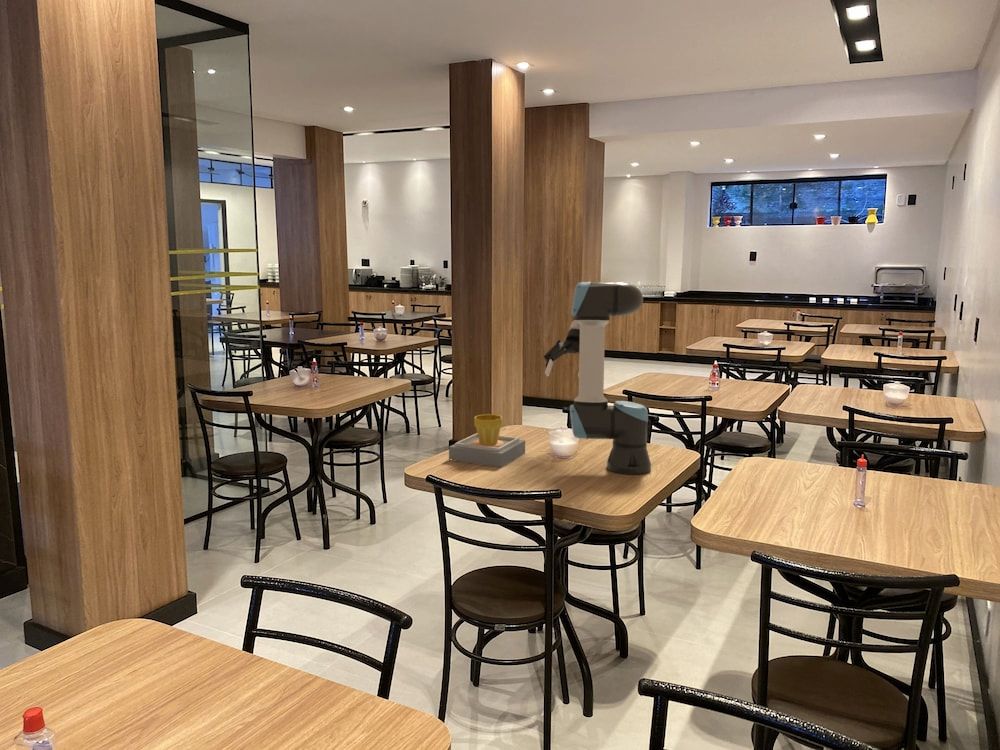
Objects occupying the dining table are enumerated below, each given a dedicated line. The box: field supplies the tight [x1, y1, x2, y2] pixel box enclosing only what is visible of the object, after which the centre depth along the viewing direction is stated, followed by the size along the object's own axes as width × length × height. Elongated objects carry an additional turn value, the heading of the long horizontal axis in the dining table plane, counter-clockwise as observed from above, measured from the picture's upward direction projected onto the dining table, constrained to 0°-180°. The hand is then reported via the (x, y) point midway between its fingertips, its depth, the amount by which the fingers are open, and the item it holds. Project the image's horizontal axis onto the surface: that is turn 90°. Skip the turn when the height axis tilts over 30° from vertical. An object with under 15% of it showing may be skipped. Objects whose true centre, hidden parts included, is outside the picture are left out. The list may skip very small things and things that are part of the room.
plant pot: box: [473, 413, 503, 445], centre depth 267 cm, size 10×10×10 cm
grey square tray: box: [448, 432, 526, 468], centre depth 268 cm, size 21×21×6 cm
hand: (562, 375), depth 282 cm, fingers open, 13 cm apart
